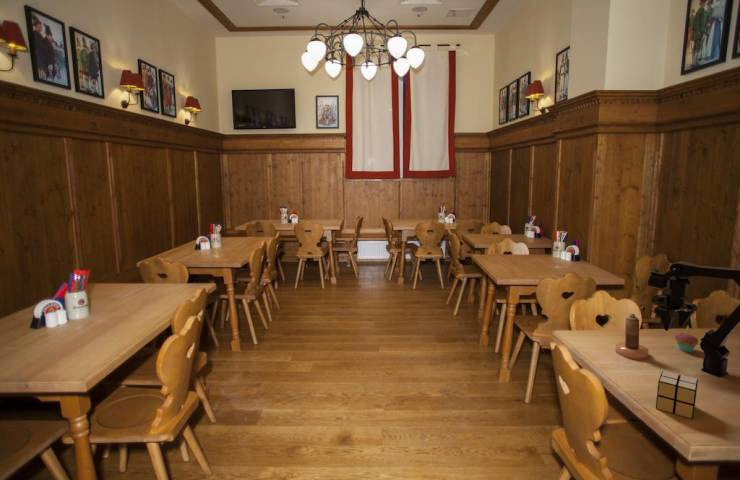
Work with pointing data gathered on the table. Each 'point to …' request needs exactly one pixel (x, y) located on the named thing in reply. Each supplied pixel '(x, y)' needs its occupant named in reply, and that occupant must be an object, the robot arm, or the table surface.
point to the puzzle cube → (676, 394)
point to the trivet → (631, 351)
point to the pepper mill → (632, 332)
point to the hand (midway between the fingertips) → (673, 328)
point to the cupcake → (686, 341)
